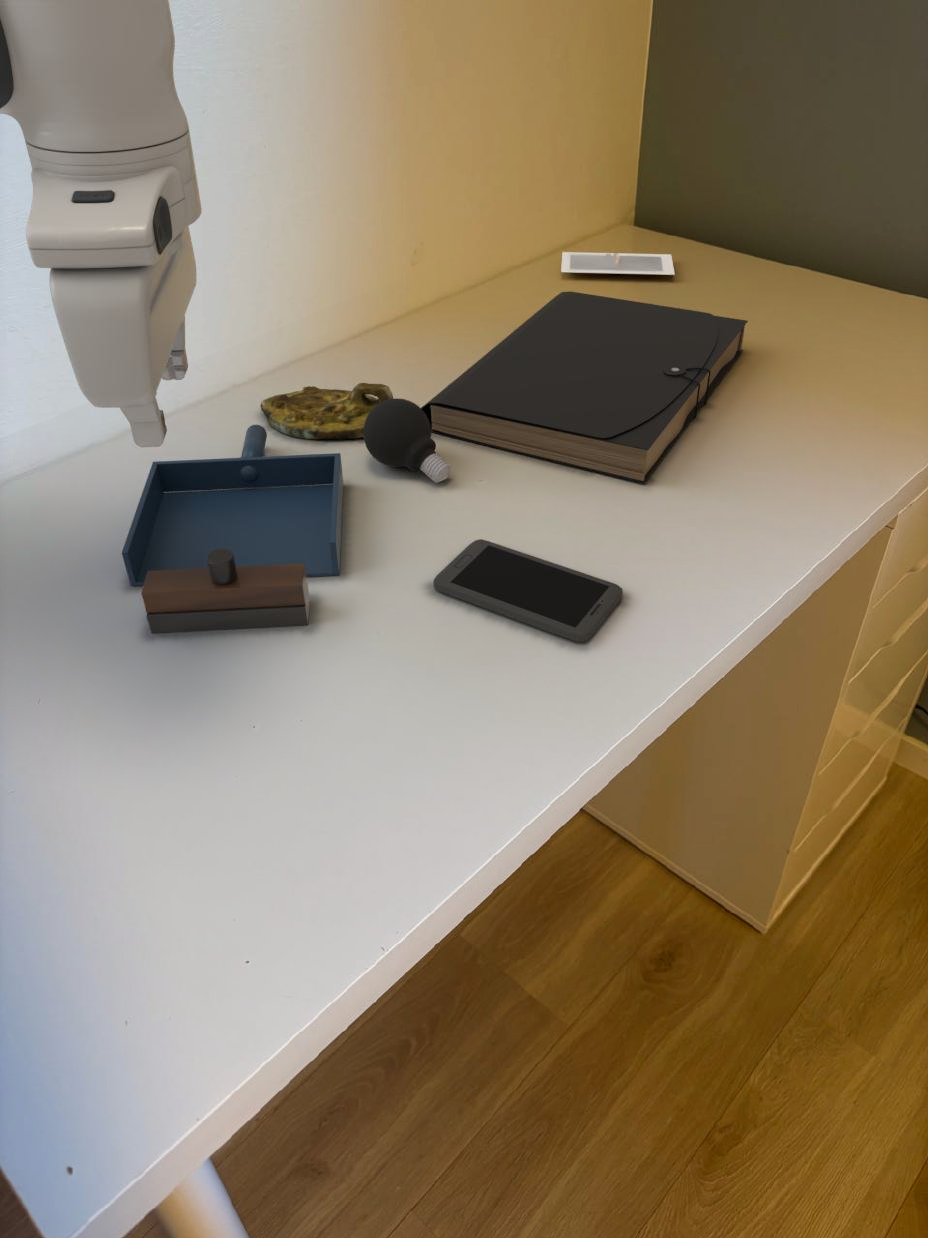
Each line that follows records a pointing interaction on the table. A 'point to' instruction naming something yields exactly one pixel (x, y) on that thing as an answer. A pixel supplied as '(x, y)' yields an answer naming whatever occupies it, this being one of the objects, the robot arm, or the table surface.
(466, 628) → the table surface
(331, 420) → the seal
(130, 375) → the robot arm
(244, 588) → the wiper
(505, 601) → the cell phone
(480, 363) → the black leather journal
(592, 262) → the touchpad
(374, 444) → the light bulb
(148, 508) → the dustpan
